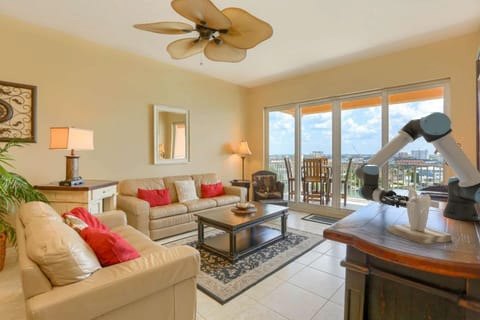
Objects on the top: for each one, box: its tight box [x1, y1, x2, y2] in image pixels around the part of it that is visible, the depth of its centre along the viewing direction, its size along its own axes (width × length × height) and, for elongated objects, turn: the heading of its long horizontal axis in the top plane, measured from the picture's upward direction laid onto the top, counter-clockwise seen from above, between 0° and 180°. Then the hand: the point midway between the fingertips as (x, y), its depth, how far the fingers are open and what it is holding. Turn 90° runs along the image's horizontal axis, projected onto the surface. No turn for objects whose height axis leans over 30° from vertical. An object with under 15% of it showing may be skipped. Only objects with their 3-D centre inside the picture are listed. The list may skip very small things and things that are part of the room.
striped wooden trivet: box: [387, 224, 453, 245], centre depth 106 cm, size 16×16×2 cm
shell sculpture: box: [406, 187, 432, 231], centre depth 106 cm, size 8×8×18 cm
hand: (426, 205), depth 102 cm, fingers open, 12 cm apart
